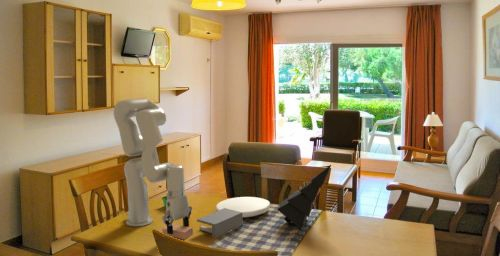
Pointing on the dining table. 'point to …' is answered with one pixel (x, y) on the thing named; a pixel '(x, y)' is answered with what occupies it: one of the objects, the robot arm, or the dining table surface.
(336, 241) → the dining table surface
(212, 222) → the grey block with tab
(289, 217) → the decorative tree
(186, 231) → the slab
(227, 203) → the plate
